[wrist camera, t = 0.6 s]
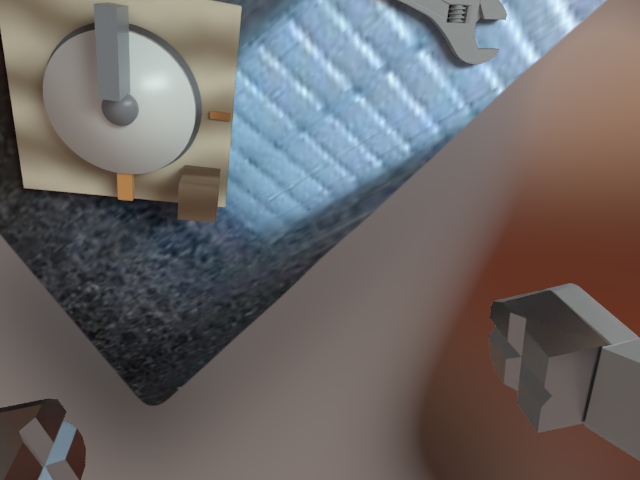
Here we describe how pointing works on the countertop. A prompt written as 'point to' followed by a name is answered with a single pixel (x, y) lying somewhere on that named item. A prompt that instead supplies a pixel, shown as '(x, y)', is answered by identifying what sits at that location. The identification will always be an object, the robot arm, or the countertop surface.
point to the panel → (155, 23)
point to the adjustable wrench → (461, 24)
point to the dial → (119, 98)
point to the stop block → (198, 193)
